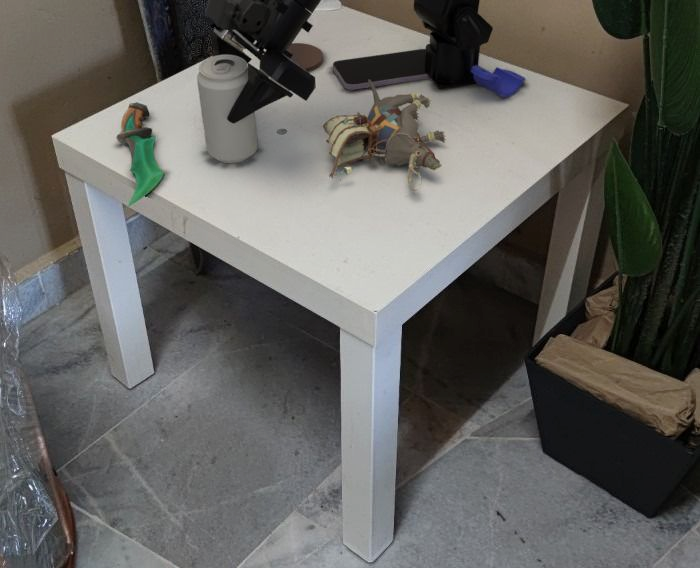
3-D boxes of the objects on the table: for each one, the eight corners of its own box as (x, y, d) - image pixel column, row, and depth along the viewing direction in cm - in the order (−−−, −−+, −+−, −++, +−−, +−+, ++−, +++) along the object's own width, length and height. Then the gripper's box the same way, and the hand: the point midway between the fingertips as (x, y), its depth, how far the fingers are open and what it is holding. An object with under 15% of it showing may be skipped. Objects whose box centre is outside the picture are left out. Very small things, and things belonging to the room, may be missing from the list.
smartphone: (448, 71, 128) (346, 86, 124) (447, 78, 129) (346, 93, 125) (428, 47, 133) (330, 61, 129) (428, 54, 134) (330, 68, 130)
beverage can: (262, 138, 117) (254, 53, 109) (253, 167, 112) (244, 80, 104) (213, 136, 117) (202, 51, 109) (202, 165, 112) (189, 77, 104)
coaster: (315, 43, 136) (315, 39, 135) (329, 68, 130) (329, 64, 130) (262, 50, 134) (262, 47, 134) (274, 76, 129) (274, 73, 128)
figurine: (483, 138, 107) (359, 183, 100) (478, 179, 111) (358, 225, 105) (392, 58, 119) (276, 94, 113) (390, 97, 123) (278, 134, 117)
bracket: (532, 81, 125) (525, 99, 127) (507, 68, 128) (500, 86, 129) (490, 77, 119) (483, 95, 120) (465, 63, 122) (458, 81, 123)
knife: (151, 110, 122) (112, 111, 121) (150, 98, 121) (111, 100, 119) (170, 210, 107) (126, 213, 106) (169, 198, 106) (125, 201, 105)
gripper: (206, -65, 106) (134, 47, 109) (286, -8, 95) (202, 116, 98) (270, -16, 115) (201, 87, 118) (351, 42, 103) (272, 155, 106)
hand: (217, 109), depth 110 cm, fingers closed on beverage can, 6 cm apart
